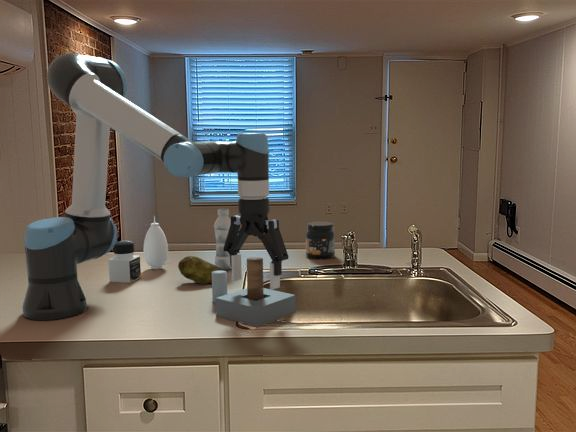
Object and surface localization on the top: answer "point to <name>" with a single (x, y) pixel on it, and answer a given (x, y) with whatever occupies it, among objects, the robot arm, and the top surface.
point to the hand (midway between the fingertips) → (255, 284)
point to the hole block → (255, 307)
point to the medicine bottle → (124, 263)
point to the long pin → (255, 278)
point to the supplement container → (320, 240)
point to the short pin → (219, 284)
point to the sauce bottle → (155, 246)
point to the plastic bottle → (222, 239)
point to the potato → (197, 269)
